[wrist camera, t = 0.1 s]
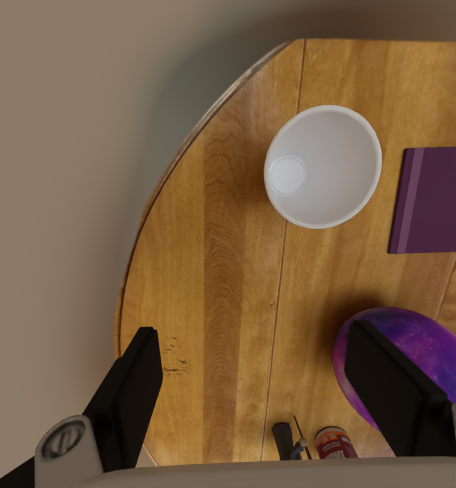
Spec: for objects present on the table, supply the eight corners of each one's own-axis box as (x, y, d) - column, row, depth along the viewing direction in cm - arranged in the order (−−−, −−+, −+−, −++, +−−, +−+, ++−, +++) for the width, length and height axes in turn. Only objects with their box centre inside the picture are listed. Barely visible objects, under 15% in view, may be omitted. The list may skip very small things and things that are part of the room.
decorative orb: (339, 276, 33) (430, 348, 18) (427, 303, 34) (576, 389, 20) (300, 356, 36) (351, 470, 22) (381, 378, 38) (479, 498, 23)
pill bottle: (329, 420, 40) (366, 505, 29) (353, 434, 41) (399, 522, 30) (306, 441, 41) (335, 530, 31) (331, 454, 42) (367, 545, 32)
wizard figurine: (293, 441, 41) (320, 542, 30) (263, 439, 41) (279, 539, 29) (303, 407, 39) (336, 500, 27) (272, 404, 39) (292, 497, 27)
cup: (307, 223, 31) (350, 243, 20) (239, 201, 30) (247, 209, 19) (337, 150, 28) (405, 129, 18) (265, 124, 27) (290, 84, 17)
